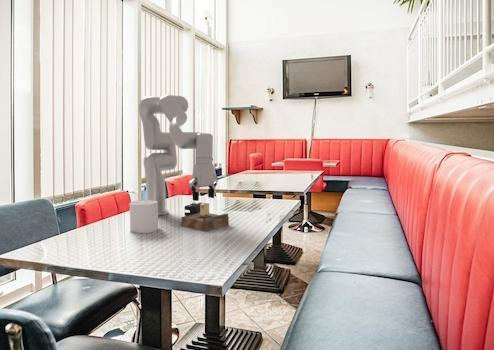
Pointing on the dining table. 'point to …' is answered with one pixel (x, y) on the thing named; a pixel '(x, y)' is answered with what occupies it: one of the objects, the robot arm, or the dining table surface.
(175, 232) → the dining table surface
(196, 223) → the jig
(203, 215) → the gold peg
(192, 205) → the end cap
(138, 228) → the cup
